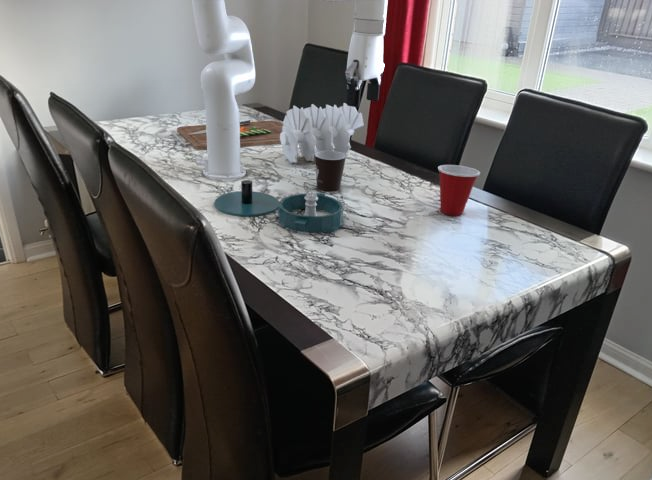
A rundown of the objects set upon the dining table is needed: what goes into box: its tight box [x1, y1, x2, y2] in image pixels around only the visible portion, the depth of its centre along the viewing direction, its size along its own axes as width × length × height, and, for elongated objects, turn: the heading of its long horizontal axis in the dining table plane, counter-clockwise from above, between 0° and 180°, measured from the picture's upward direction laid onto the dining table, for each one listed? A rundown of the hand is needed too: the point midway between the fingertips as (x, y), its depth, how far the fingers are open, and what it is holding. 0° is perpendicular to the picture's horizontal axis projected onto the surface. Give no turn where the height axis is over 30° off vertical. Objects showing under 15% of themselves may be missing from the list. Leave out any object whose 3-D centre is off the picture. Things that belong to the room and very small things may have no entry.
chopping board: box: [171, 119, 283, 151], centre depth 208 cm, size 45×27×3 cm, turn 117°
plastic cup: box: [437, 164, 481, 217], centre depth 151 cm, size 11×11×12 cm
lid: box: [214, 179, 280, 218], centre depth 148 cm, size 17×17×7 cm
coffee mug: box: [314, 150, 347, 193], centre depth 163 cm, size 12×9×10 cm
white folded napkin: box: [280, 102, 365, 165], centre depth 185 cm, size 18×18×25 cm
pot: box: [277, 192, 344, 234], centre depth 142 cm, size 16×21×4 cm
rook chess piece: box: [303, 191, 318, 216], centre depth 138 cm, size 4×4×8 cm
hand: (362, 103), depth 142 cm, fingers open, 9 cm apart
